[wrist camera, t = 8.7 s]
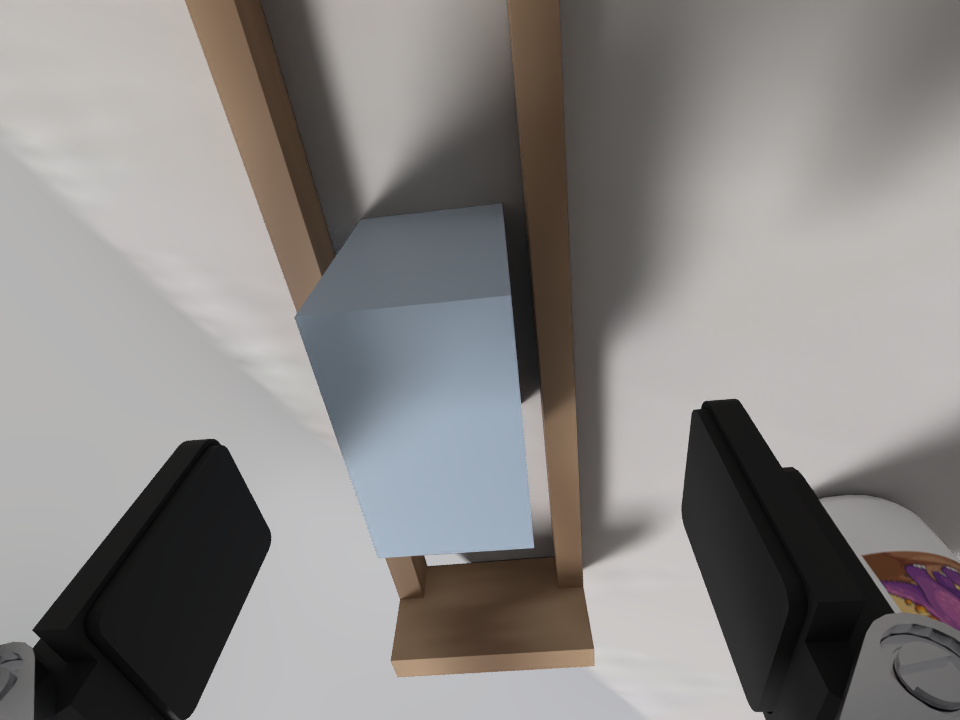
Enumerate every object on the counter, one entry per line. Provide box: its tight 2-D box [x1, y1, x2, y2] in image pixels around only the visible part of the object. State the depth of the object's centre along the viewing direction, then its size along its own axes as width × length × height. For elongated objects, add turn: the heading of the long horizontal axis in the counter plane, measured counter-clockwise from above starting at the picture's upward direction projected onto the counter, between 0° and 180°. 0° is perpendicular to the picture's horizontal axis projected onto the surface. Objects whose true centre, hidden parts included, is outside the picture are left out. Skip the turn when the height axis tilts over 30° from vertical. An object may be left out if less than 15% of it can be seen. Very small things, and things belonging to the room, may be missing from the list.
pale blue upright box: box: [295, 203, 534, 558], centre depth 14 cm, size 4×7×6 cm, turn 7°
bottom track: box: [185, 0, 594, 677], centre depth 14 cm, size 8×26×4 cm, turn 8°
